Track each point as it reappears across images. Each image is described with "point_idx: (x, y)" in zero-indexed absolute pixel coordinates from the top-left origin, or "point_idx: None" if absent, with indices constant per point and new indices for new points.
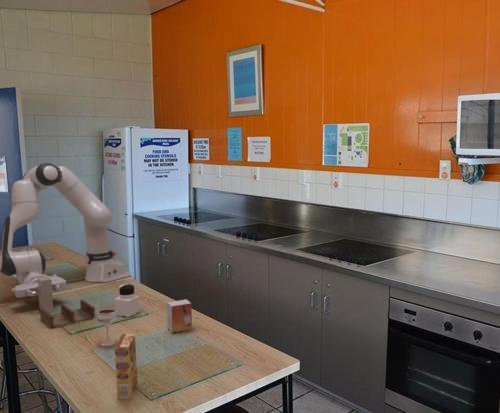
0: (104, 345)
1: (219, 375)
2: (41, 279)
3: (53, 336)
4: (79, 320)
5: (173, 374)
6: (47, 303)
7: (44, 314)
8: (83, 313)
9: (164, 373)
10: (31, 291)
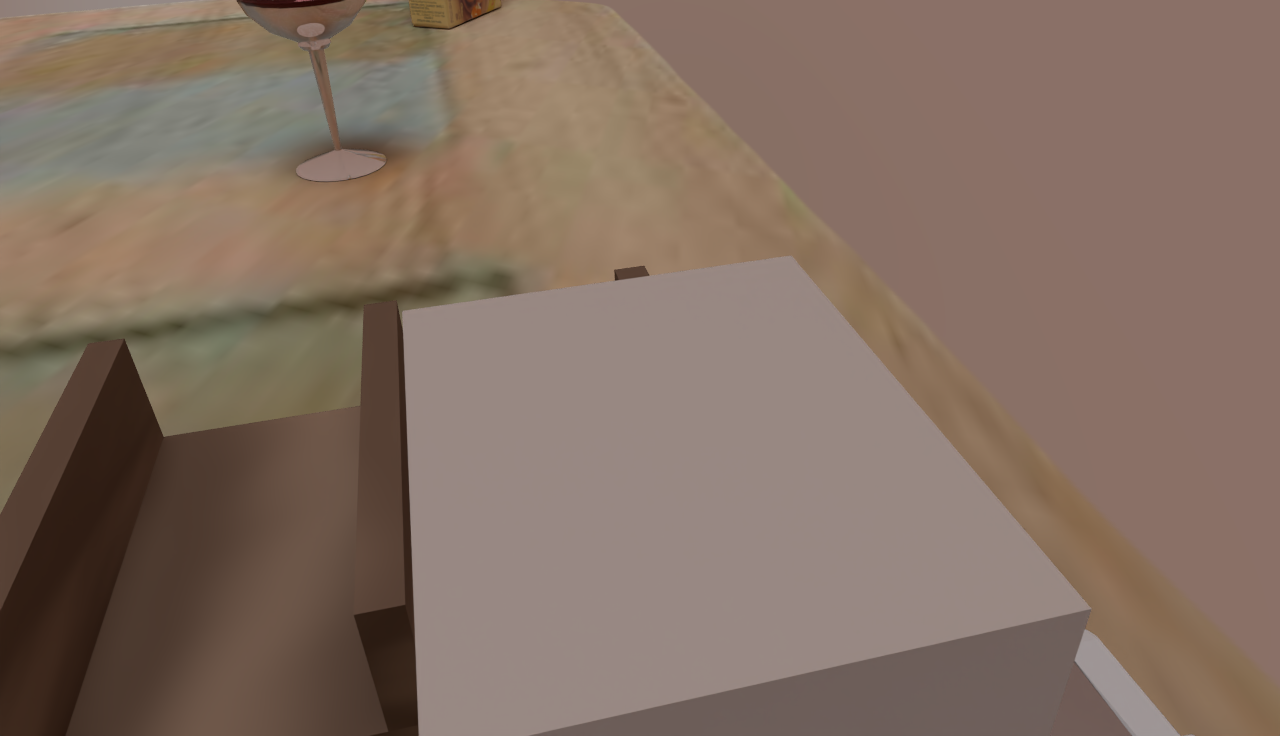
0: (374, 151)
1: (171, 22)
2: (803, 369)
3: None
4: (330, 414)
5: None
6: None
7: None
8: (167, 569)
9: None
10: (1152, 733)
